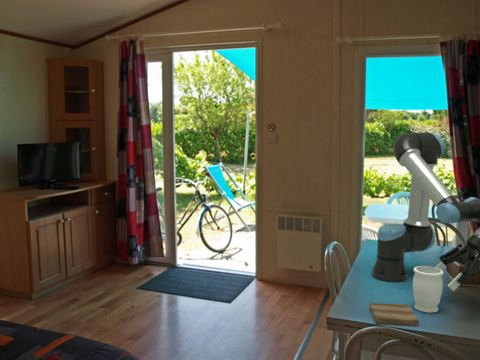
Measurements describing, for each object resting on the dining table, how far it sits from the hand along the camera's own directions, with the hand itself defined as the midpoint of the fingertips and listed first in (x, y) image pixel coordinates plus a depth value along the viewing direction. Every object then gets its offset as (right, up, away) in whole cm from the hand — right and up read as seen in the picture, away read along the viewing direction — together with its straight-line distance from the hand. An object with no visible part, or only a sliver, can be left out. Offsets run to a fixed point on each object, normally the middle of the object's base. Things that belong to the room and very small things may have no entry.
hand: (440, 282), depth 172 cm
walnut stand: (-19, -11, -5) cm, 23 cm away
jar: (-4, -11, +3) cm, 12 cm away
